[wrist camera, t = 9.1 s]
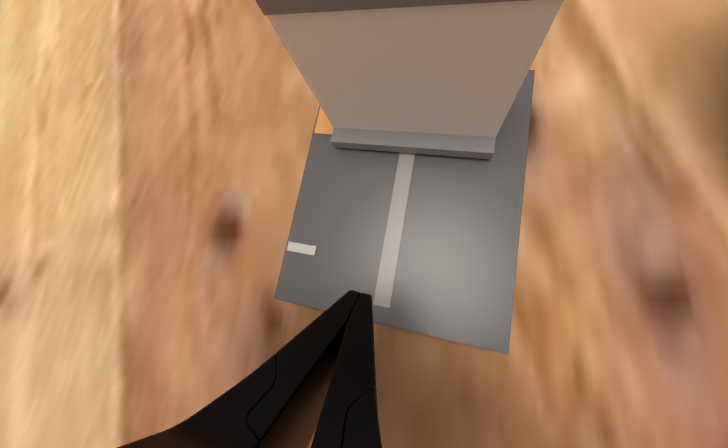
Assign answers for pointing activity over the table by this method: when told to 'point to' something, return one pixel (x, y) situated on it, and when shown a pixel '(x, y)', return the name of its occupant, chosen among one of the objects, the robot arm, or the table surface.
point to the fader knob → (414, 67)
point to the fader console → (413, 233)
